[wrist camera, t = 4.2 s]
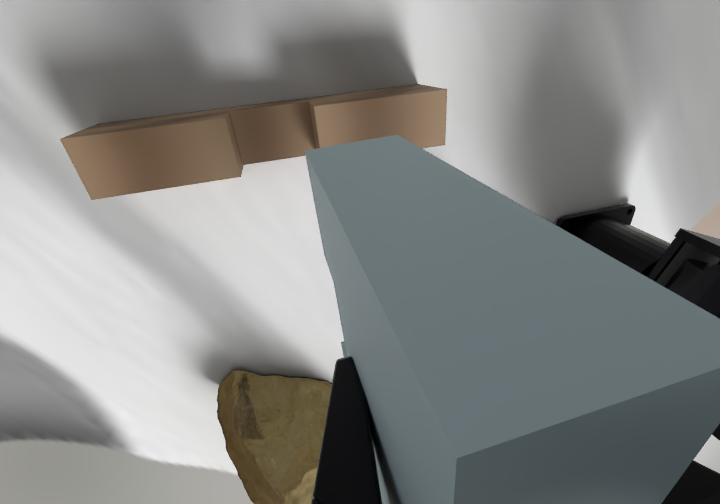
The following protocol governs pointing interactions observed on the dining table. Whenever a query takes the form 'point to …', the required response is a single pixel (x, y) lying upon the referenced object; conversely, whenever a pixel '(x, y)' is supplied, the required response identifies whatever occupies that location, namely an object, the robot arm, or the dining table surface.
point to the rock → (274, 433)
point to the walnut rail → (246, 137)
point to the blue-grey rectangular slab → (505, 342)
